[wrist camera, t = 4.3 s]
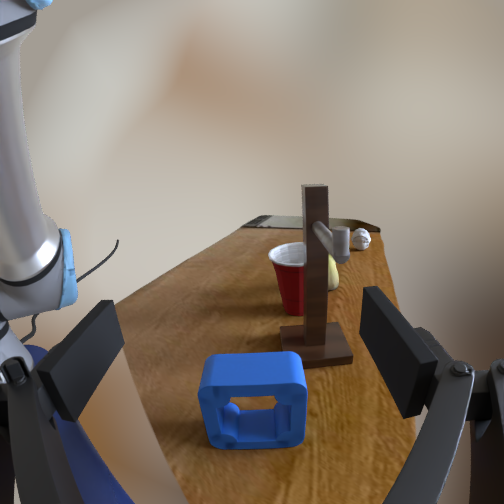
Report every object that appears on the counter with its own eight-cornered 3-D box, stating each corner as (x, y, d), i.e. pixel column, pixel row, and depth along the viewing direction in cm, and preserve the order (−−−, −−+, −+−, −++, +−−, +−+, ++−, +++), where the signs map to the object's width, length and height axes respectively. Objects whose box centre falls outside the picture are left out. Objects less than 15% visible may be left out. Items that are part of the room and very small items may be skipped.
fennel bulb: (324, 295, 64) (324, 240, 61) (310, 288, 68) (309, 235, 65) (343, 288, 67) (345, 235, 63) (329, 281, 71) (330, 231, 67)
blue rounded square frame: (303, 446, 28) (308, 381, 25) (211, 449, 28) (195, 385, 26) (299, 415, 33) (301, 349, 30) (215, 418, 33) (203, 354, 30)
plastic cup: (260, 317, 57) (257, 256, 54) (284, 294, 66) (282, 240, 63) (316, 328, 52) (317, 262, 49) (332, 301, 61) (334, 244, 58)
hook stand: (369, 403, 33) (394, 198, 26) (289, 413, 33) (286, 201, 26) (337, 329, 51) (341, 181, 44) (279, 333, 51) (273, 183, 44)
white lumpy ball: (350, 252, 90) (350, 230, 88) (352, 246, 96) (352, 225, 94) (369, 254, 88) (370, 231, 86) (370, 247, 94) (371, 226, 92)
